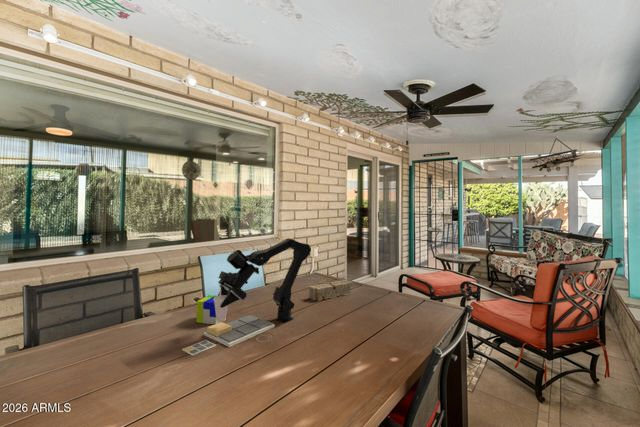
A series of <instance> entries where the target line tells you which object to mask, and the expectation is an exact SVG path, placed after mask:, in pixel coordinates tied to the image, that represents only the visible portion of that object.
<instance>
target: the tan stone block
mask: <svg viewBox="0 0 640 427" xmlns="http://www.w3.org/2000/svg"><path fill="white" fill-rule="evenodd" d="M352 286H353V282H352V281H349V280H346V279H342V280H339V281H332V282H329V284H328V283H322V284H317V285H310V286H308V293H309V294H308V299H309V298H311V299H310V300H312V299H313V300H312V301H314V300H315V301H317V300H318V301H317V302H320V301H319V300H322V301H323V299H327V298H331V297H335V296H339V295H344V294H348V293H350V294H351V287H352ZM322 298H323V299H322ZM331 299H332V298H331ZM327 300H328V299H327Z"/></svg>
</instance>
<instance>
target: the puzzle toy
mask: <svg viewBox="0 0 640 427" xmlns="http://www.w3.org/2000/svg"><path fill="white" fill-rule="evenodd" d="M216 296H217V295H211V294H210V295H209V294H208V295H207V296H205V297H203V298H200V299H199V300H197V301H196V323H200V324H208V325H209V324H210V325H215V324H218V323H220V322H218V321H217V320H216V312H215V303H214V301H213V300H214V297H216ZM227 317H228V313H227V314H226V318H227Z"/></svg>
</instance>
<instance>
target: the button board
mask: <svg viewBox="0 0 640 427" xmlns="http://www.w3.org/2000/svg"><path fill="white" fill-rule="evenodd" d="M225 324H228V325H230V326H232V331H229V332H227V333H224V334H222V335H219V337H216V336H214V335H212V334H210V333H208V332H207V331H205V332H203V336H204V337H207V338H209V339H211V340H213V341H216V342H218V343H220V344H222V345H224V346H226V347H228V348H231V347H233V346H235V345H238V344H240V343H242V342H244V341H247V340H249V339H250V338H253V337H255V336H257V335H259V334H261V333H262V334H263V333H264V332H266V331H269V330H271V329H273V328H275V325H276V324H274V323H273V322H271V321H268V320H265V319H262V318H259V317H257V316H255V315H250V314H248V315H246V316H242V317H240V318H238V319H235V320H232V321H229V322H226V323H225Z"/></svg>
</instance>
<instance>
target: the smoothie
mask: <svg viewBox="0 0 640 427" xmlns="http://www.w3.org/2000/svg"><path fill="white" fill-rule="evenodd" d="M219 292H220V296H218V295H215V296H216V297H214V300H213V301H214V303H215V312H216V320H217V321H218V322H219V323H220V322H225V321H226V319H227V317H226V314H227V315H228V306H229V305H227V306H225V307H223V308H221V307H220V306H221V304H222V302H223V301H224V300H225V298H226V297H227V295H221V287H220V286H219Z"/></svg>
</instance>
